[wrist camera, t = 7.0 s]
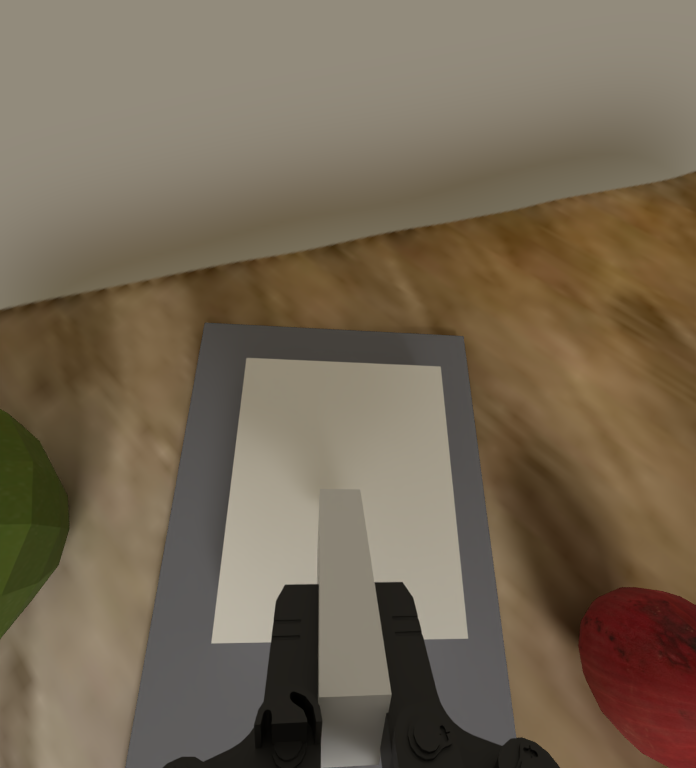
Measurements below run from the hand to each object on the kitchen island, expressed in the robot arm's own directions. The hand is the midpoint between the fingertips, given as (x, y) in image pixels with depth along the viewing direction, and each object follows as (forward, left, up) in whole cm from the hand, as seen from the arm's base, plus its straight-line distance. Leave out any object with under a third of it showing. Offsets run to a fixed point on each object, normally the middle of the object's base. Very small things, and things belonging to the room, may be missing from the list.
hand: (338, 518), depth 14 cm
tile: (+3, +4, -3) cm, 6 cm away
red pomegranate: (-7, +13, -6) cm, 15 cm away
